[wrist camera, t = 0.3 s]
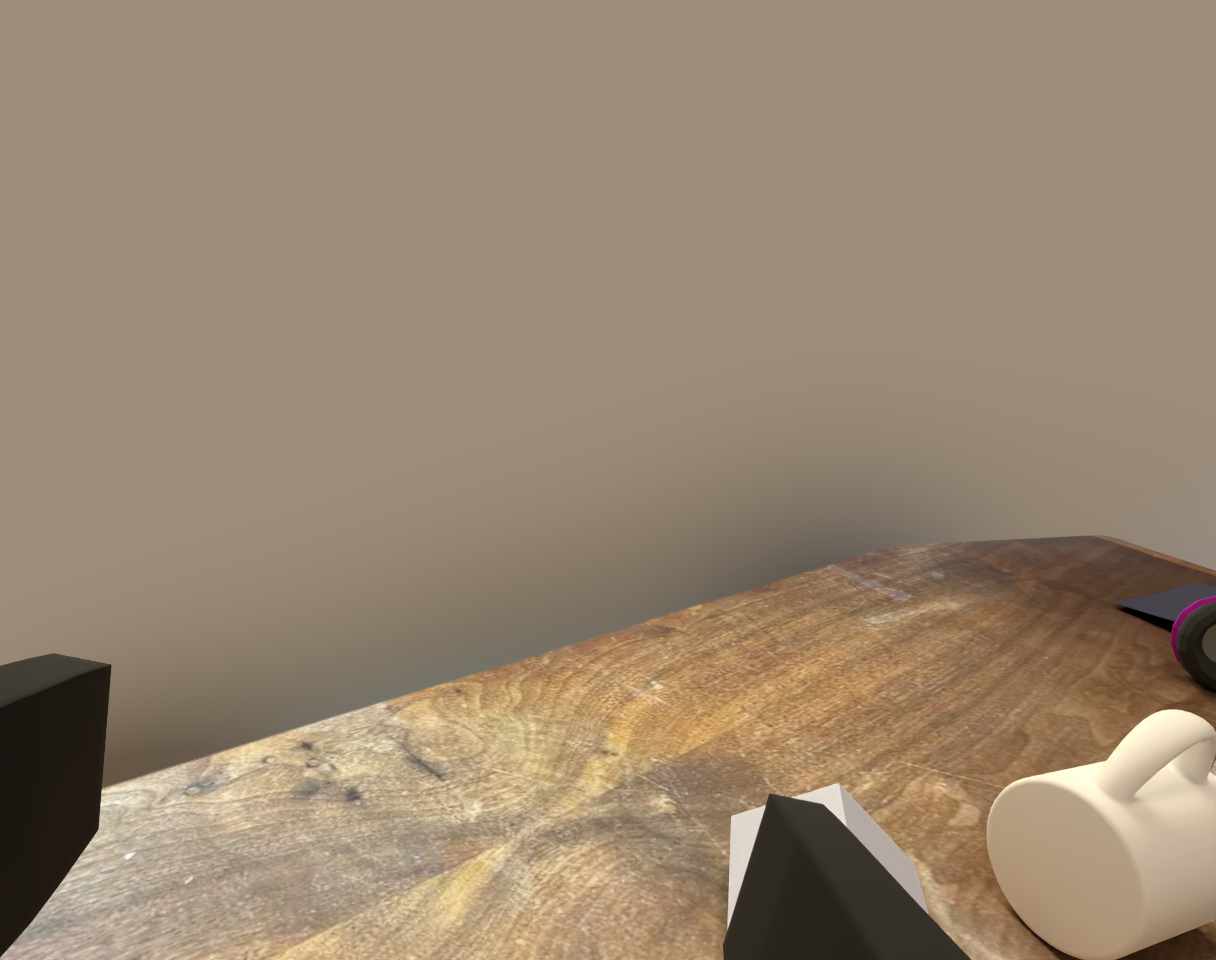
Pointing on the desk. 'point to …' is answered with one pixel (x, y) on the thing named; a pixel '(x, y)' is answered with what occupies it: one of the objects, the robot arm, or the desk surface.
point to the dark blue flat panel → (1170, 600)
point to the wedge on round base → (850, 816)
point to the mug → (1114, 842)
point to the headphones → (1197, 640)
